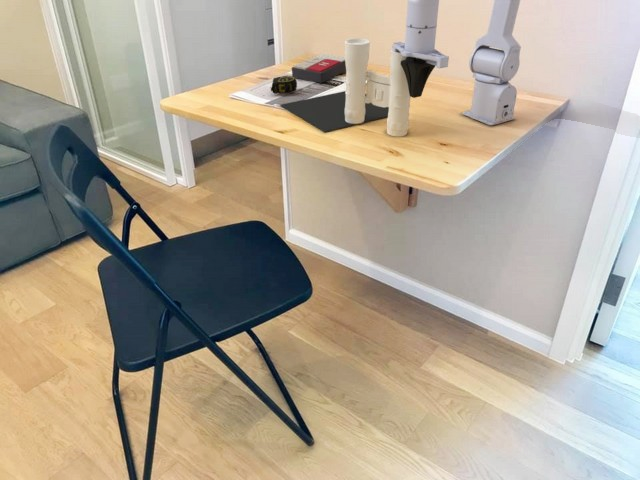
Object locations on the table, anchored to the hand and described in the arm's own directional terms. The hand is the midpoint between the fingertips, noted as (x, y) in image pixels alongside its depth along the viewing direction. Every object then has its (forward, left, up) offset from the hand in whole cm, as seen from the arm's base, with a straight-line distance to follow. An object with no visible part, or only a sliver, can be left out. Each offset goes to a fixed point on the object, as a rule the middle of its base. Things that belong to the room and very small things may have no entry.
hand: (415, 96), depth 107 cm
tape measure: (+47, +7, -11) cm, 49 cm away
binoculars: (+12, +1, -10) cm, 16 cm away
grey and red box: (+56, -11, -11) cm, 58 cm away
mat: (+27, +1, -10) cm, 29 cm away
